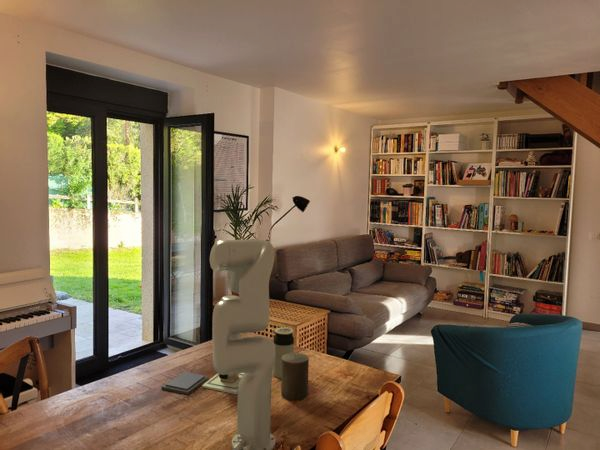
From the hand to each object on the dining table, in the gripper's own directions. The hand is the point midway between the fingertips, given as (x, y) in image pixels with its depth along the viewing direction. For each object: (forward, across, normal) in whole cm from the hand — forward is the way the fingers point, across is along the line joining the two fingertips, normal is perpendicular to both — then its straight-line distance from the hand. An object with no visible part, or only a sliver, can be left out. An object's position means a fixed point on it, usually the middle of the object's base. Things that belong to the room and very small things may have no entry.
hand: (229, 373), depth 174 cm
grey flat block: (+3, -8, +14) cm, 16 cm away
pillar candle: (+4, 0, -26) cm, 26 cm away
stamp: (+2, 0, 0) cm, 3 cm away
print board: (+3, 0, 0) cm, 3 cm away
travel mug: (+4, +14, -16) cm, 22 cm away
